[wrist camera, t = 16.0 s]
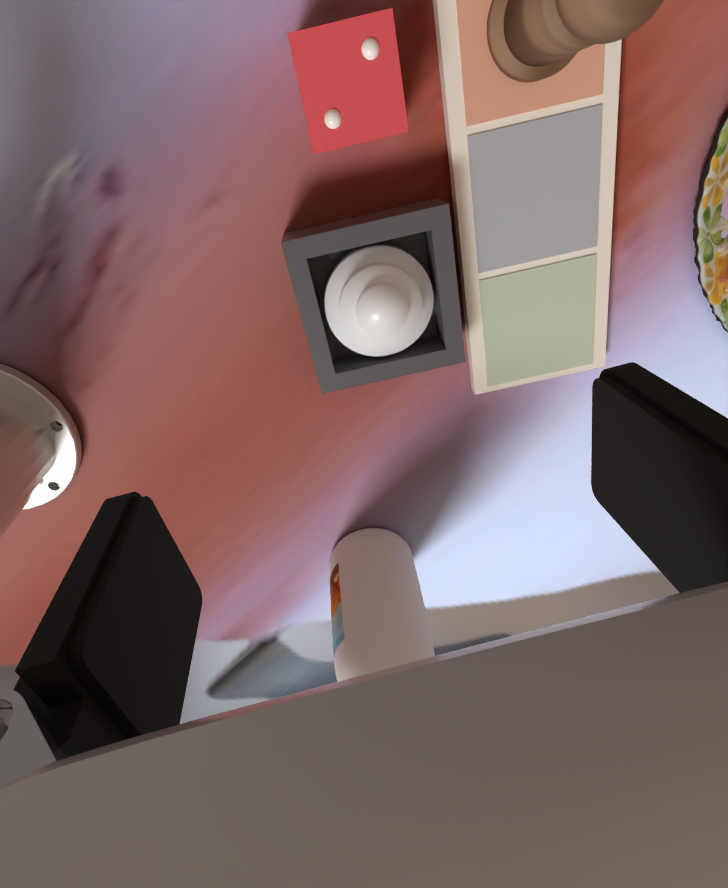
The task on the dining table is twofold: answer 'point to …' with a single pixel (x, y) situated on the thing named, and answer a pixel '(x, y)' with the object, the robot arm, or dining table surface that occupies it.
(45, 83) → the dining table surface
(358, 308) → the dome
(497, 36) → the wooden pepper mill
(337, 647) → the milk bottle
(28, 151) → the dining table surface
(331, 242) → the dome housing
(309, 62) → the die
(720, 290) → the rice dish
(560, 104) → the board
